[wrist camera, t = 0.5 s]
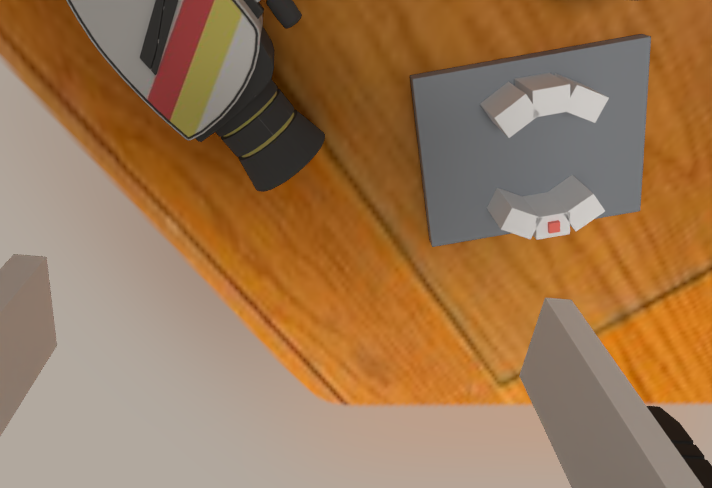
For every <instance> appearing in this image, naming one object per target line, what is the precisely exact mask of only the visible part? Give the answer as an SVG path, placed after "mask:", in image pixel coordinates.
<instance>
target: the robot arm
mask: <svg viewBox="0 0 712 488" xmlns="http://www.w3.org/2000/svg"><path fill="white" fill-rule="evenodd" d="M56 346H57V342H56V333H55V325H54V316H53V308H52V300H51V292H50V282H49V274H48V266H47V257H43V256H30V255H18V254H14V255H13V256H12V257H11V258H10V259H9V260H8V261H7V262H6V263H5V265H4V266H3V267H2V268H1V269H0V436H1V434H2V433H3V431H4V429H5V428H6V426H7V424H8V423H9V421H10V420H11V418H12V417H13V415H14V413H15V412H16V410H17V409H18V407H19V405H20V404H21V402H22V400H23V399H24V397H25V396H26V394H27V393H28V391H29V389H30V388H31V386H32V385H33V383H34V381H35V380H36V378H37V376H38V375H39V373H40V372H41V370H42V368H43V367H44V365H45V364H46V362H47V360H48V359H49V357H50V356H51V354H52V353H53V351H54V349H55V347H56ZM520 378H521V380H522V382H523V384H524V386H525V389H526V391H527V393H528V395H529V397H530V399H531V401H532V404H533V406H534V408H535V410H536V412H537V414H538V416H539V418H540V421H541V423H542V425H543V427H544V429H545V431H546V434H547V436H548V438H549V440H550V442H551V444H552V446H553V448H554V451H555V452H556V455H557V457H558V459H559V461H560V464H561V466H562V468H563V470H564V472H565V474H566V476H567V479H568V481H569V483H570V485H571V487H572V488H712V466H711V464H710V463H709V462H708V460H705V459H704V455H703V454H702V452H701V451H700V450H699V448H698V447H697V446H696V445H694V444H693V440H692V439H691V438H690V436H689V435H688V434H687V432H686V431H685V430H684V428H683V427H682V426H681V424H680V423H679V422H678V421H676V420H675V419H674V418H673V417H671V416H670V415H669V414H668V413H667V412H665V411H664V410H663V409H662V408H660V407H655V406H646V405H645V404H644V402H643V401H642V399H641V398H640V396H639V395H638V394H637V392H636V391H635V389H634V388H633V387H632V385H631V384H630V382H629V381H628V379H627V378H626V377H625V375H624V374H623V372H622V371H621V370H620V368H619V367H618V365H617V364H616V362H615V361H614V360H613V358H612V357H611V355H610V354H609V352H608V351H607V350H606V348H605V347H604V345H603V344H602V343H601V341H600V340H599V338H598V337H597V335H596V334H595V333H594V331H593V330H592V328H591V327H590V326H589V324H588V323H587V321H586V320H585V318H584V317H583V316H582V314H581V313H580V311H579V310H578V309H577V307H576V306H575V304H574V303H573V301H572V300H567V299H555V298H545V300H544V303H543V306H542V309H541V312H540V315H539V318H538V321H537V324H536V327H535V330H534V333H533V336H532V339H531V342H530V345H529V348H528V351H527V354H526V357H525V360H524V364H523V367H522V370H521V373H520Z"/></svg>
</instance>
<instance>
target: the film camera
mask: <svg viewBox="0 0 712 488" xmlns="http://www.w3.org/2000/svg"><path fill="white" fill-rule="evenodd" d="M66 1H67V3H68V4H69V6H70V8H71V10H72V11H73V13H74V15H75V16H76V18H77V20H78V21H79V23H80V24H81V26H82V27H83V29H84V31H85V32H86V34H87V35H88V37H89V38H90V40H91V41H92V42H93V44H94V45H95V47H96V48H97V49H98V51H99V52H100V53H101V54H102V56H103V57H104V58H105V59H106V60H107V62H108V63H109V64H110V65H111V66H112V67H113V69H114V70H115V71H116V72H117V73H118V74H119V75H120V77H121V78H122V79H123V80H124V81H125V82H126V83H127V84H128V85H129V86H130V87H131V88H132V89H133V90H134V91H135V92H136V93H137V94H138V96H139V97H140V98H141V99H142V100H143V101H144V102H145V103H146V104H147V105H148V106H149V107H150V108H152V109H153V110H154V111H155V112H156V113H157V114H158V115H159V116H160V117H161V118H162V119H163V120H164V121H165V122H167V123H168V124H169V125H170V126H171V127H172V128H173V129H175V130H176V131H177V132H178V133H179V134H180V135H182V136H183V137H184V138H185V139H187V140H192V139H194V138H196V139H197V140H198V141H200V142H202V141H203V140H205V139H206V138H207V137H209V136H210V135H211V134H213V133H214V132H216V133H217V135H218V136H221V139H222V140H223V141H224V142H225V144H226V145H227V146H228V147H229V148H230V149H231V150H232V151H233V153H234V154H235V155H236V156H239V160H240V162H241V164H242V165H243V167H244V169H245V171H246V172H247V174H248V176H249V178H250V179H251V181H252V183H253V185H254V186H255V188H256V190H258V191H268V190H271V189H273V188H275V187H277V186H279V185H281V184H282V183H284V182H286V181H287V180H288V179H290V178H291V177H293V176H294V175H295V174H296V173H298V172H299V171H300V170H301V169H302V168H303V167H304V166H305V165H307V164H308V163H309V161H310V160H311V159H312V158H313V157H314V156H315V155H316V154H317V152H318V151H319V149H320V148H321V146H322V144H323V142H324V139H325V134H324V133H323V132H322V131H321V130H320V129H319V128H317V127H316V126H315V125H314V124H313V123H311V122H310V121H309V120H308V119H306V118H305V117H304V116H303V115H302V114H300V113H299V112H298V111H297V110H294V107H293V106H292V105H291V103H290V102H289V101H288V100H287V98H286V97H285V96H284V94H283V93H282V92H281V91H280V90H279V89H277V86H276V84H275V83H274V82H273V81H272V79H271V78H272V74H273V69H274V47H273V44H272V41H271V40H270V38H269V36H268V34H267V33H266V31H265V29H264V28H263V26H262V25H263V17H262V14H263V12H264V9H263V7H262V6H261V5H260V3H259V1H260V0H66ZM267 5H268V6H269V8H270V9H271V11H272V12H273V14H274V15H275V17H276V18H277V19H278V20H279V21H280V23H281V24H282V25H283V26H284V27H285V28H290V27H292V26H293V25H295V24H296V23H297V22H298V21H299V20H300V18H301V16H302V14H301V13H300V11H299V10H298V8H297V7H296V5H295V4H294V2H293V1H292V0H267Z"/></svg>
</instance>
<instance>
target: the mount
mask: <svg viewBox="0 0 712 488" xmlns="http://www.w3.org/2000/svg"><path fill="white" fill-rule="evenodd" d="M650 44H651V36H647V35H643V34H639V35H633V36H628V37H622V38H616V39H611V40H605V41H600V42H594V43H588V44H583V45H577V46H572V47H566V48H560V49H555V50H549V51H544V52H538V53H532V54H527V55H521V56H516V57H510V58H504V59H499V60H493V61H488V62H482V63H477V64H471V65H465V66H460V67H454V68H449V69H443V70H437V71H432V72H426V73H421V74H415V75H410V81H411V89H412V98H413V106H414V114H415V123H416V131H417V140H418V148H419V156H420V165H421V173H422V181H423V190H424V198H425V207H426V215H427V223H428V232H429V240H430V242H431V245H432V247H435V246H441V245H446V244H452V243H458V242H464V241H469V240H475V239H481V238H487V237H492V236H498V235H504V234H510V233H513V234H516V235H519V236H522V237H525V238H528V239H531V238H532V236H534V237H535V238H536V240H538V239H544V238H549V237H555V236H561V235H567V234H570V226H571V227H572V228H573V229H574V230H575V231H577V230H579V229H580V228H582V227H583V226H585V225H586V224H588V223H589V222H590V221H592V220H593V219H596V218H602V217H608V216H614V215H619V214H625V213H631V212H637V211H640V205H641V189H642V173H643V156H644V140H645V124H646V108H647V92H648V76H649V60H650Z"/></svg>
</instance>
